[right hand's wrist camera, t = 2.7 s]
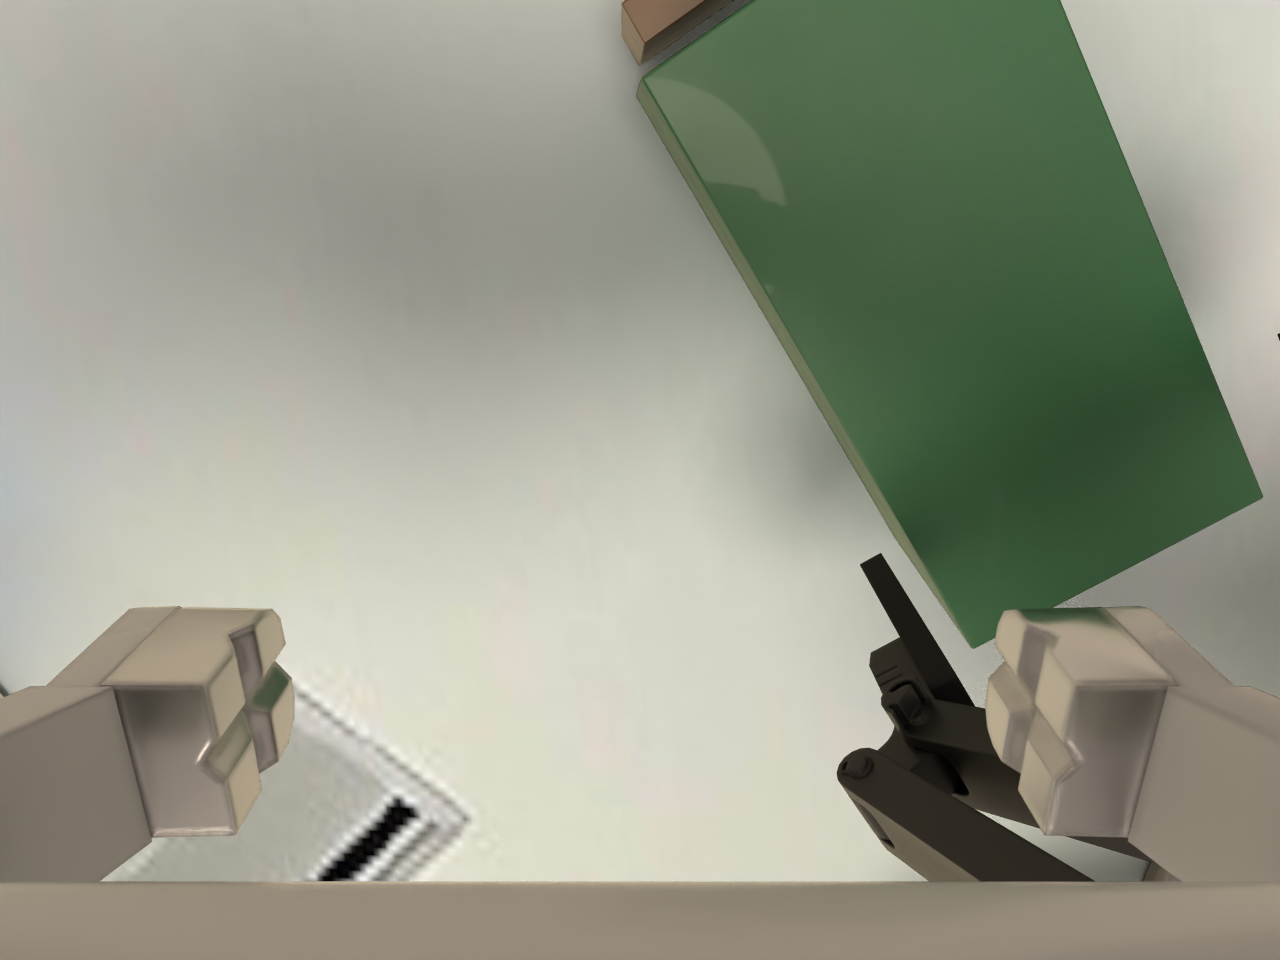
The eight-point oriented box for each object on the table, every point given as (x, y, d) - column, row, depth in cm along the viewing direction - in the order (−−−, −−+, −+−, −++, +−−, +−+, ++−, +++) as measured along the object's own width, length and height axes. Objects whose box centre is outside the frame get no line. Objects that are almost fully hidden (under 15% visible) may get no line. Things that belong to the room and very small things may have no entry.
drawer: (526, -130, 29) (497, -213, 22) (770, -317, 28) (819, -469, 21) (882, 486, 37) (941, 564, 30) (1087, 370, 36) (1198, 424, 29)
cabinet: (635, 95, 33) (640, 78, 24) (889, -81, 31) (993, -169, 22) (895, 539, 39) (973, 650, 31) (1117, 416, 37) (1265, 498, 29)
